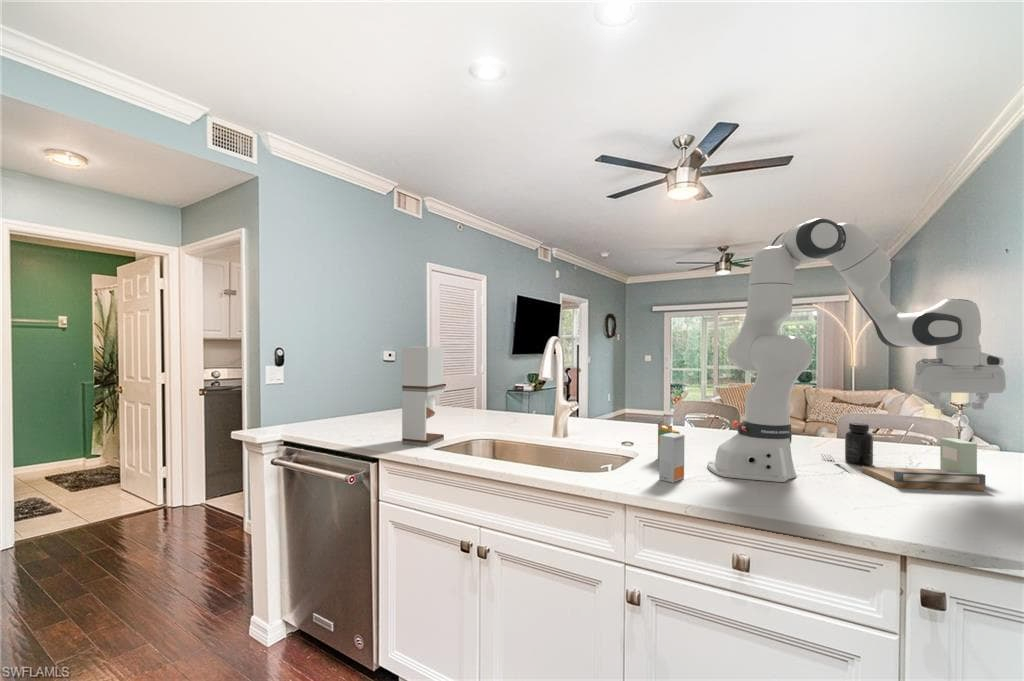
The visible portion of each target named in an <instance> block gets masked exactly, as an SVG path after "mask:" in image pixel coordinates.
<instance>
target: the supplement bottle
mask: <svg viewBox="0 0 1024 681" xmlns="http://www.w3.org/2000/svg"><path fill="white" fill-rule="evenodd" d="M869 427H870V424H869V423H868V424H867V423H861V422H849V423H848V430H849V431H846V432H845V434H844V460H845V462H846V463H847V462H848V464H850V463H851V465H855V464H856V465H855V466H862V465H864V466H863V467H871V466H872V465H874V436H873V435H872V434H871V433H869V432H870V429H869ZM870 465H871V466H870Z"/></svg>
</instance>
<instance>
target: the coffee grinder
mask: <svg viewBox="0 0 1024 681" xmlns="http://www.w3.org/2000/svg"><path fill="white" fill-rule="evenodd" d="M401 348H402V349H401V352H402V353H401V355H402V358H401V359H402V360H401V363H402V364H401V366H402V368H401V377H402V379H401V382H402V383H401V389H402V390H401V392H402V393H401V396H402V397H401V401H402V404H401V405H402V406H401V412H402V414H401V415H402V417H401V424H402V425H401V429H402V430H401V434H402V435H401V439H402V440H401V442H402V443H401V444H402V445H407V446H419V447H420V446H421V447H430V446H432V445H435V444H438V443H440V442H442V441H444V440H445V435H444V434H441V433H439V434H438V433H432V432H427V420H428V419H431V418H432V417H434V416H435V414H436V395H441V394H444V393H445V356H444V355H445V347H444V346H433V347H432V346H430V347H429V346H428V347H426V346H424V347H423V346H402V347H401Z"/></svg>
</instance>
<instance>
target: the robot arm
mask: <svg viewBox="0 0 1024 681" xmlns="http://www.w3.org/2000/svg"><path fill="white" fill-rule="evenodd" d="M819 259H824V260H826V261H827V262H829V263H830V264H831V265H832V267H834V269H835V270H836V271H837V273H838V274H839V275H841V277H842V278H843V279H844V280H845V281H846V283H847V285H848V288H849V291H850V292H851V294H852V295H853V297H854V299H855V300H856V301H857V303H858V304H859V305H860V306H861V308H862V310H863V311H864V312H865V313H866V315H867V316H868V317H869V319H870V321H872V323H873V325H874V328H875V331H876V333H877V337H878V339H880V341H881V342H882V343H883V344H884V345H886V346H888V347H891V348H895V349H900V348H909V347H910V348H911V347H913V348H919V347H920V348H921V347H922V348H923V347H925V348H926V347H930V348H931V347H935V355H936V356H935V358H921V360H919V361H917V362H916V363H915V373H914V378H913V389H914V390H915V391H916V392H920V393H928V397H929V398H930V400H931V401H932V402H933V409H936V410H944V409H945V408H946V407H945V405H946V404H945V402H942V401H941V400H940V397H941V393H944V394H945V393H949V394H950V393H951V394H952V393H953V394H954V393H956V394H957V393H958V394H959V393H960V394H965V393H966V394H975V396H976V397H977V398H976V400H975V402H971V408H972V409H973V410H980V411H983V410H984V406H985V405H984V404H985V403H986V402H987V400H988V398H990V396H989V395H990V394H1002V393H1003V392H1005V390H1006V386H1007V385H1006V384H1007V383H1006V382H1007V380H1006V372H1005V369H1004V368H1003V367H1002V366H1003V365H1004V359H1003V357H1001V356H997V355H993V354H990V353H986V352H982V345H981V343H980V336H981V333H982V321H981V320H982V318H981V312H980V309H979V306H978V304H977V303H976V302H974V301H973V300H968V299H963V298H947V299H942V300H940V301H939V302H938V303H937V304H935V305H933V306H931V307H930V308H927V309H924V310H921V311H918V312H917V311H916V312H907V313H906V312H902V311H899V310H898V309H896V308H895V307H894V306H893V305H892V303H891V302H890V300H889V299H888V298H887V296H886V295H885V294H884V292H883V291H882V288H881V283H883V281H884V280H885V279H886V278H887V277H888V275H889V274H890V271H891V268H892V261H891V260H890V257H889V256H888V254H887V252H885V250H883V248H882V247H881V246H880V245H879V244H878V243H877V242H876V241H875V240H874V239H873V238H872V237H870V235H869V234H867V232H865V231H864V230H862V229H861V228H859V227H858V226H857V225H855V224H854V223H851V222H841V223H838V224H837V223H836V222H834V221H833V220H830V219H828V218H814V219H810V220H807V221H805V222H803V223H801V224H797V225H795V226H792V227H790V228H789V229H788V230H786V231H784V232H782V233H780V234H779V235H778V236H777V237H776V238H775V239H774V240H773V241H772V243H771V245H770V246H768V247H767V246H766V247H763V248H761V249H760V250H758V251H757V252H756V253H755V254H754V256H753V259H752V262H751V263H752V264H751V267H750V271H749V272H750V273H749V278H748V292H747V302H746V303H747V306H746V312H745V317H744V320H743V323H742V325H741V328H740V329H739V332H738V334H737V336H736V337H735V339H733V340H732V341H731V342H730V344H729V346H728V348H727V357H728V360H729V362H730V363H731V365H733V367H736V368H737V369H740V370H742V371H744V372H749V373H757V374H756V379H755V381H754V383H753V386H752V387H751V388H749V389H748V390H747V391H746V392H745V396H744V420H742V421H741V422H739V421H737V420H733V421H732V423H731V426H732V427H733V428H735V429H737V433H736V434H735V435H733V436H732V437H730V438H729V439H727V440H726V441H724V442H723V443H720V444H719V446H718V448H717V450H716V454H715V459H714V460H710V461H708V462H707V468H708V470H709V471H711V472H712V473H714V474H715V475H717V476H721V477H724V478H731V479H733V478H734V479H741V480H742V479H744V480H752V481H754V480H755V481H765V482H776V483H785V482H787V481H788V480H791V479H794V478H796V477H797V472H796V468H795V465H794V462H793V457H792V456H793V454H792V451H791V450H792V449H791V448H792V447H791V444H792V438H793V437H792V436H793V435H792V431H793V430H792V424H791V423H790V412H791V411H790V409H791V408H790V406H791V395H792V391H793V388H794V386H795V384H796V381H797V380H798V379H799V377H800V375H801V374H802V373H803V372H805V371H806V370H808V368H809V367H810V365H811V363H812V360H813V350H812V347H811V346H810V344H809V343H808V341H806V340H805V339H803V338H801V337H798V336H794V335H790V334H778V333H779V330H780V328H781V326H782V324H783V323H784V322H785V321H786V320H787V319H788V318H789V317H790V316H791V314H792V311H793V298H794V294H793V293H794V275H795V274H794V273H795V271H796V268H797V267H798V266H799V265H805V264H809V263H813V262H815V261H818V260H819Z"/></svg>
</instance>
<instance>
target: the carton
mask: <svg viewBox="0 0 1024 681" xmlns="http://www.w3.org/2000/svg"><path fill="white" fill-rule="evenodd" d="M977 445H978V443H976V442H971V441H968V440H963V439H960V438H955V437H954V438H950V437H947V438H946V437H940V444H939V446H940V447H939V448H940V452H939V454H940V459H939V461H940V464H939V466H940V469H941V470H944V471H946V472H949V473H973V474H978V446H977Z"/></svg>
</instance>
